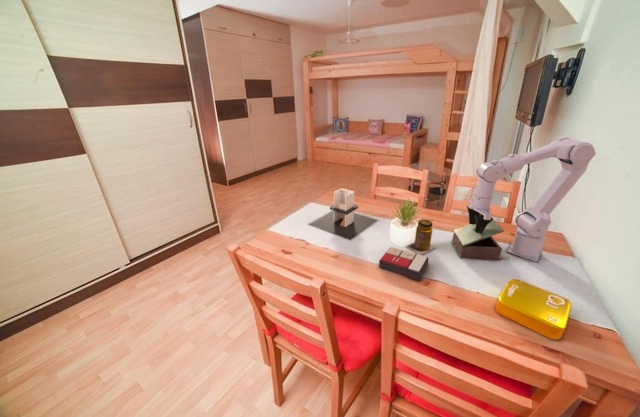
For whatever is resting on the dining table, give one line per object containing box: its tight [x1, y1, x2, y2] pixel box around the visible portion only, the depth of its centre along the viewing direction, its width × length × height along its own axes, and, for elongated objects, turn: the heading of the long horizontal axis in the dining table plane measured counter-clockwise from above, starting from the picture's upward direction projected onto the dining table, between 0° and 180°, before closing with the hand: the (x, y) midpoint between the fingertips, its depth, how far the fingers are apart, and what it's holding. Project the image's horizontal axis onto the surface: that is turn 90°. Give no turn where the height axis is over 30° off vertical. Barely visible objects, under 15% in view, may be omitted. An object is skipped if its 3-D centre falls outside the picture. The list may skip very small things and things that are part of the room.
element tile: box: [495, 278, 572, 341], centre depth 76 cm, size 15×15×5 cm
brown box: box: [451, 231, 503, 261], centre depth 105 cm, size 14×12×5 cm
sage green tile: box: [453, 219, 505, 246], centre depth 102 cm, size 14×12×1 cm
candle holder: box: [309, 188, 378, 241], centre depth 129 cm, size 25×24×16 cm
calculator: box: [378, 246, 430, 282], centre depth 98 cm, size 11×4×15 cm
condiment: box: [406, 218, 434, 256], centre depth 107 cm, size 7×8×12 cm
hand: (475, 228), depth 102 cm, fingers open, 6 cm apart
